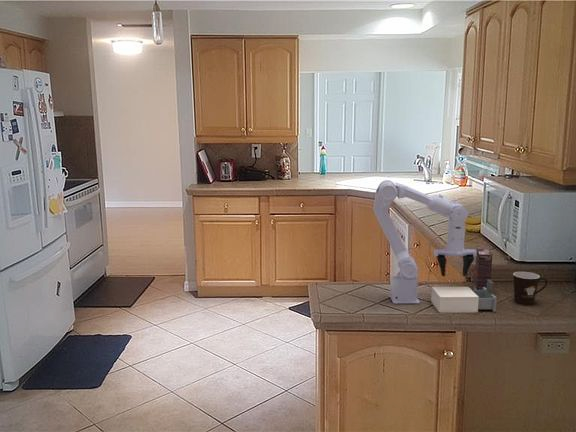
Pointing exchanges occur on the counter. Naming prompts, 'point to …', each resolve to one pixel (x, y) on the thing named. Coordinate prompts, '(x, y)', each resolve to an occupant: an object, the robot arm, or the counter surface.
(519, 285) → the coffee mug
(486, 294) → the tray
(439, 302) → the sleeve
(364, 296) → the counter surface
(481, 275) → the supplement box
